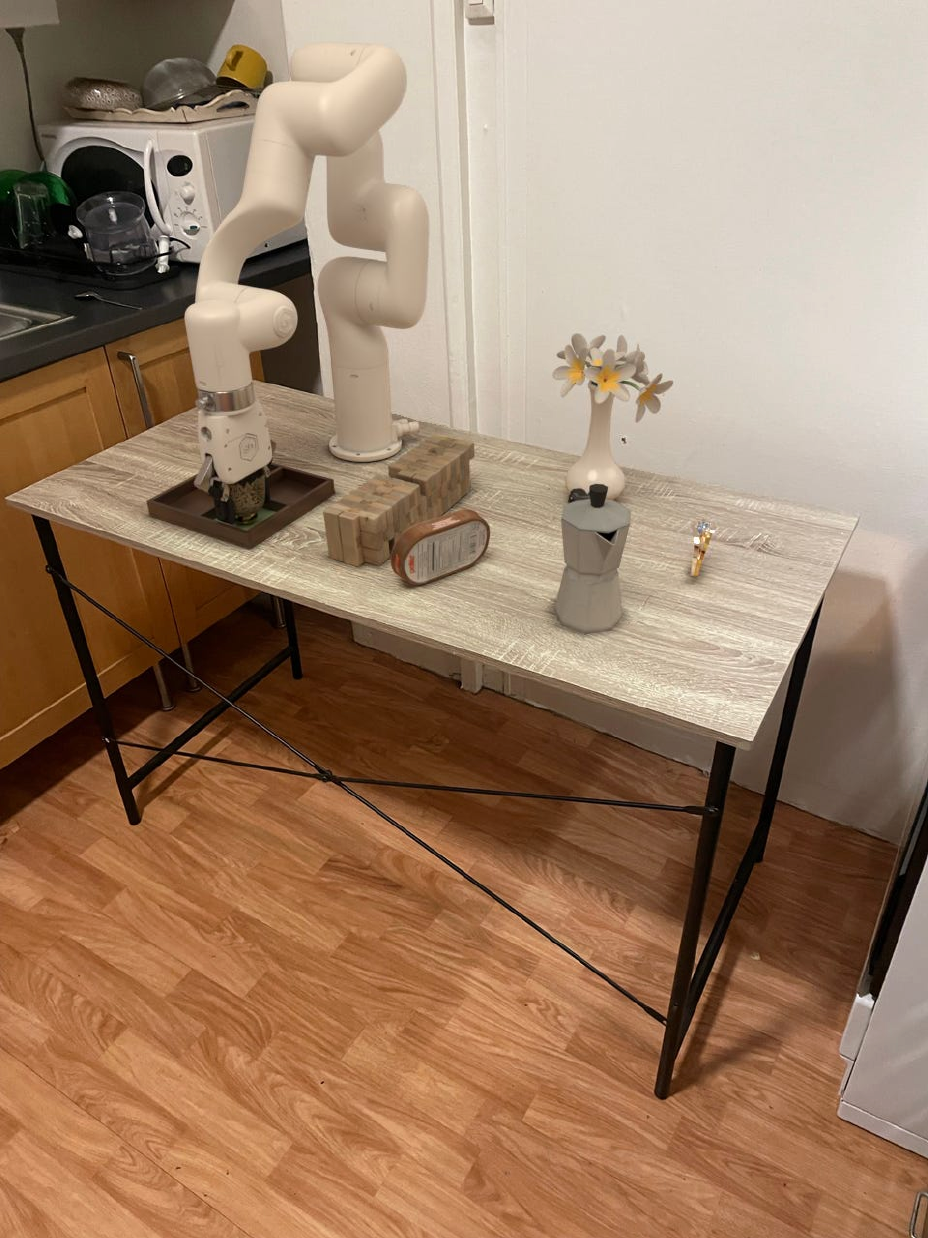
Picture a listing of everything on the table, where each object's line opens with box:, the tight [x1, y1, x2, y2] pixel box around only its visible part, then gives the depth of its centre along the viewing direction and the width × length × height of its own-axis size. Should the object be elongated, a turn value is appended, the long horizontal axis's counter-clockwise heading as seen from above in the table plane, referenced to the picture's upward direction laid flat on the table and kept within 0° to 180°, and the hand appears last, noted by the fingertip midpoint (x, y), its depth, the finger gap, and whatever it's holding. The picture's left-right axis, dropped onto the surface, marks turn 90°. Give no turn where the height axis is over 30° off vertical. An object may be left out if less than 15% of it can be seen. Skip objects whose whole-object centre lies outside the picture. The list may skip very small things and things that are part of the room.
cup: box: [217, 467, 265, 525], centre depth 135 cm, size 8×7×8 cm
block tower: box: [322, 433, 475, 567], centre depth 136 cm, size 8×8×29 cm
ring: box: [690, 518, 716, 578], centre depth 123 cm, size 7×3×8 cm, turn 159°
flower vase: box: [551, 332, 674, 501], centre depth 136 cm, size 13×18×25 cm
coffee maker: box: [553, 484, 632, 634], centre depth 114 cm, size 15×9×18 cm, turn 12°
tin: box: [390, 508, 491, 586], centre depth 124 cm, size 15×3×8 cm, turn 126°
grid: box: [145, 461, 336, 550], centre depth 142 cm, size 20×20×3 cm
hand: (244, 510), depth 136 cm, fingers closed on cup, 6 cm apart
